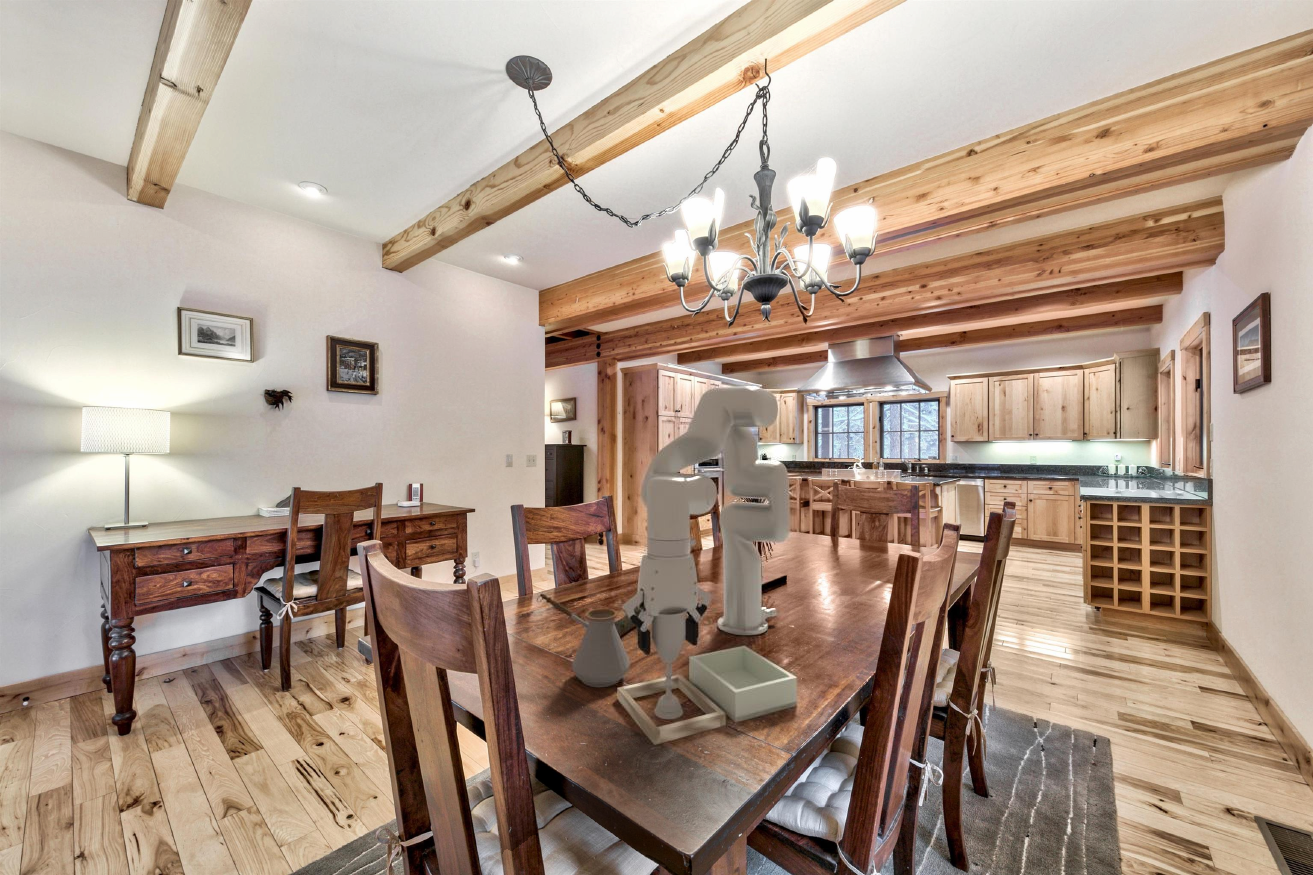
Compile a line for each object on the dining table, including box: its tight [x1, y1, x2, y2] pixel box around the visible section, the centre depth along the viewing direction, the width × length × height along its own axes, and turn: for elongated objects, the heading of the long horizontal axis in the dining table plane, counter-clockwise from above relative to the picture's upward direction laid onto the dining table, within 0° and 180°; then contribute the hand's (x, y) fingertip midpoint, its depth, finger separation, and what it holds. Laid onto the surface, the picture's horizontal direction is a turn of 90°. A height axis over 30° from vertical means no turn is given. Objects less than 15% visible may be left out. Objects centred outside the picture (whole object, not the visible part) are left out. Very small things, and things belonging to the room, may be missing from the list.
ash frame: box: [616, 673, 726, 746], centre depth 90 cm, size 13×16×2 cm
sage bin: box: [688, 645, 798, 723], centre depth 96 cm, size 13×16×5 cm
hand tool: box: [614, 606, 642, 638], centre depth 128 cm, size 19×4×5 cm, turn 151°
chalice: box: [651, 610, 687, 720], centre depth 90 cm, size 7×7×18 cm
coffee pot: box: [536, 593, 631, 688], centre depth 105 cm, size 21×12×15 cm, turn 64°
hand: (668, 646), depth 90 cm, fingers open, 8 cm apart
